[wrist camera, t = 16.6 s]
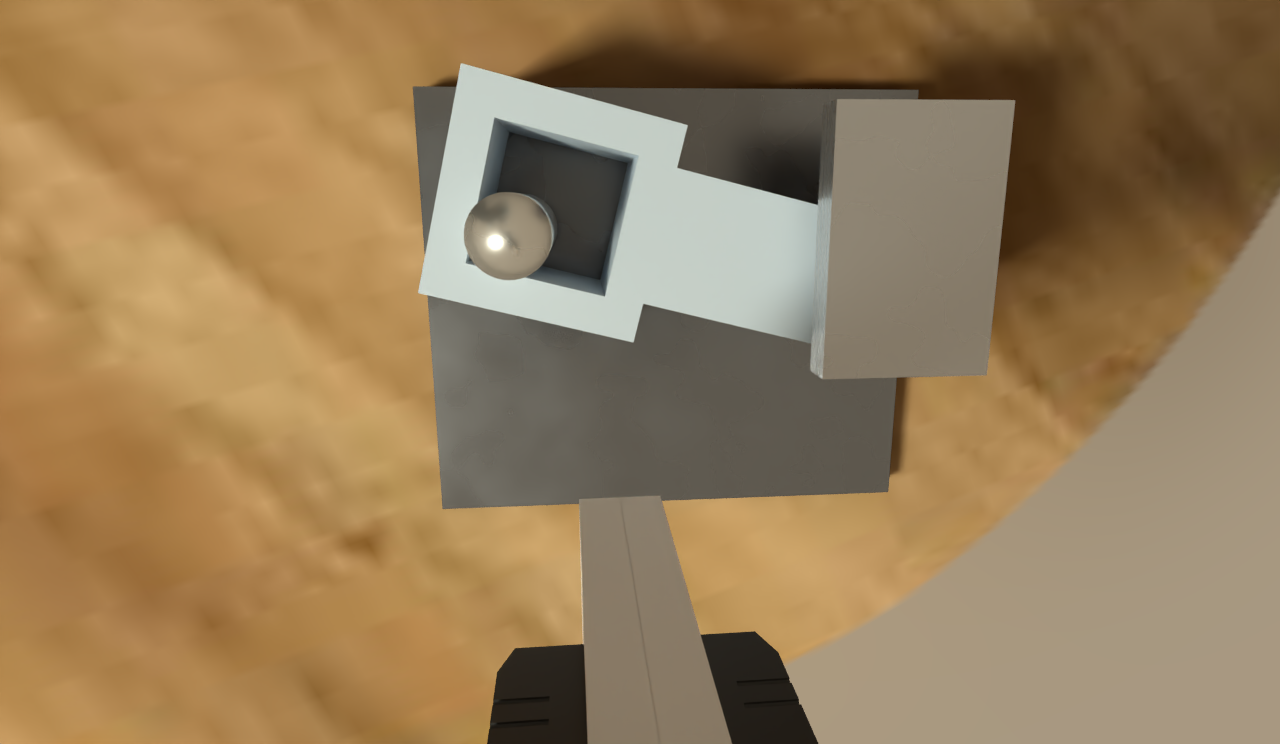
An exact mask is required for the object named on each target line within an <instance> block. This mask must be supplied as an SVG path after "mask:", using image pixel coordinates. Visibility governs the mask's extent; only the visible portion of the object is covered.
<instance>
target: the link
mask: <svg viewBox="0 0 1280 744" xmlns="http://www.w3.org/2000/svg"><path fill="white" fill-rule="evenodd" d="M687 126H688V125H685V124H682V123H678V122H674V121H671V120H667V119H663V118H660V117H656V116H652V115H649V114H645V113H641V112H638V111H634V110H630V109H627V108H623V107H619V106H616V105H612V104H609V103H605V102H601V101H598V100H594V99H590V98H587V97H583V96H579V95H576V94H572V93H568V92H565V91H561V90H557V89H554V88H550V87H546V86H543V85H539V84H535V83H532V82H528V81H524V80H521V79H517V78H513V77H510V76H506V75H502V74H499V73H495V72H491V71H488V70H484V69H480V68H477V67H473V66H469V65H466V64H462V63H461V66H460V71H459V76H458V82H457V87H456V92H455V98H454V103H453V109H452V114H451V119H450V125H449V130H448V135H447V141H446V146H445V152H444V157H443V162H442V168H441V173H440V178H439V184H438V189H437V194H436V200H435V205H434V211H433V216H432V221H431V227H430V232H429V237H428V243H427V248H426V253H425V259H424V264H423V270H422V275H421V280H420V286H419V291H418V293H420V294H425V295H429V296H433V297H438V298H442V299H446V300H451V301H455V302H459V303H464V304H468V305H472V306H477V307H481V308H486V309H490V310H494V311H499V312H503V313H507V314H512V315H516V316H520V317H525V318H529V319H533V320H538V321H542V322H546V323H551V324H555V325H559V326H564V327H568V328H572V329H577V330H581V331H586V332H590V333H594V334H599V335H603V336H607V337H612V338H616V339H620V340H625V341H629V342H634V338H635V334H636V330H637V326H638V322H639V318H640V314H641V310H642V306H643V304H647V305H651V306H655V307H659V308H663V309H668V310H672V311H676V312H680V313H684V314H689V315H693V316H697V317H701V318H705V319H710V320H714V321H718V322H722V323H727V324H731V325H735V326H739V327H743V328H748V329H752V330H756V331H760V332H764V333H769V334H773V335H777V336H781V337H785V338H790V339H794V340H798V341H802V342H806V343H811V338H812V318H813V297H814V276H815V256H816V235H817V214H818V205H815V204H812V203H808V202H804V201H800V200H796V199H793V198H789V197H785V196H781V195H778V194H774V193H770V192H766V191H762V190H759V189H755V188H751V187H747V186H744V185H740V184H736V183H732V182H728V181H725V180H721V179H717V178H713V177H710V176H706V175H702V174H698V173H694V172H691V171H687V170H683V169H679V168H677V166H678V162H679V158H680V154H681V150H682V146H683V142H684V138H685V134H686V130H687ZM509 132H512V133H515V134H519V135H523V136H527V137H531V138H534V139H538V140H542V141H546V142H550V143H553V144H557V145H561V146H565V147H569V148H572V149H576V150H580V151H584V152H588V153H591V154H595V155H599V156H603V157H607V158H610V159H614V160H618V161H622V162H626V163H628V165H627V169H626V173H625V178H624V182H623V186H622V190H621V195H620V199H619V203H618V207H617V212H616V216H615V220H614V224H613V228H612V233H611V237H610V241H609V245H608V250H607V254H606V258H605V262H604V266H603V271H602V275H601V279H600V280H598V279H594V278H590V277H585V276H581V275H577V274H573V273H569V272H565V271H560V270H556V269H552V268H548V267H544V266H541V267H540V268H539V269H537V270H536V271H535V272H534V273H532V274H531V275H529V276H527V277H524V278H521V279H517V280H501V279H497V278H494V277H491V276H489V275H487V274H486V273H484V272H483V271H481V270H480V269H479V268H478V267H477V266H476V265H475V264H474V263H473V261H472V260H471V258H470V257H469V255H468V253H467V250H466V247H465V243H464V226H465V222H466V219H467V217H468V215H469V213H470V211H471V210H472V209H473V207H474V206H475V205H476V204H477V203H478V202H479V201H481V200H482V199H484V198H485V197H487V196H489V195H492V194H495V193H497V189H498V184H499V179H500V174H501V169H502V164H503V159H504V154H505V149H506V144H507V139H508V134H509Z"/></svg>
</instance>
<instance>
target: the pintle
mask: <svg viewBox="0 0 1280 744" xmlns="http://www.w3.org/2000/svg"><path fill="white" fill-rule="evenodd" d="M556 236H557V221H556V217H555V215H554V213H553V211H552V209H551V208H550V206H549V205H548V204H547V203H546V202H545V201H543V200H542V199H540V198H538V197H536V196H534V195H530V194H523V193H512V192H500V193H495V194H492V195H489V196H487V197H485V198H484V199H482V200H481V201H479V202H478V203H477V204H476V205H475V206H474V207H473V209H472V210H471V211H470V213H469V215H468V217H467V219H466V222H465V226H464V243H465V247H466V250H467V253H468V255H469V257H470V258H471V260H472V261H473V263H474V264H475V265H476V266H477V267H478V268H479V269H480V270H481V271H483V272H484V273H486V274H487V275H489V276H491V277H494V278H497V279H501V280H517V279H521V278H524V277H527V276H529V275H531V274H532V273H534V272H535V271H536V270H537V269H539V268H540V267H541V265H542V264H543V263H544V261H545V260H546V258H547V256H548V254H549V252H550V250H551V248H552V246H553V244H554V242H555V240H556Z"/></svg>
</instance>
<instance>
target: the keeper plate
mask: <svg viewBox="0 0 1280 744" xmlns="http://www.w3.org/2000/svg"><path fill="white" fill-rule="evenodd" d="M550 88H554V89H557V90H561V91H565V92H568V93H572V94H576V95H579V96H583V97H587V98H590V99H594V100H598V101H601V102H605V103H609V104H612V105H616V106H619V107H623V108H627V109H630V110H634V111H638V112H641V113H645V114H649V115H652V116H656V117H660V118H663V119H667V120H671V121H674V122H678V123H682V124H685V125H688V126H687V130H686V134H685V138H684V142H683V146H682V150H681V154H680V158H679V162H678V166H677V168H679V169H683V170H687V171H691V172H694V173H698V174H702V175H706V176H710V177H713V178H717V179H721V180H725V181H728V182H732V183H736V184H740V185H744V186H747V187H751V188H755V189H759V190H762V191H766V192H770V193H774V194H778V195H781V196H785V197H789V198H793V199H796V200H800V201H804V202H808V203H812V204H815V205H818V214H817V235H816V256H815V276H814V297H813V318H812V338H811V343H806V342H802V341H798V340H794V339H790V338H785V337H781V336H777V335H773V334H769V333H764V332H760V331H756V330H752V329H748V328H743V327H739V326H735V325H731V324H727V323H722V322H718V321H714V320H710V319H705V318H701V317H697V316H693V315H689V314H684V313H680V312H676V311H672V310H668V309H663V308H659V307H655V306H651V305H647V304H643V306H642V310H641V314H640V318H639V322H638V326H637V330H636V334H635V338H634V342H629V341H625V340H620V339H616V338H612V337H607V336H603V335H599V334H594V333H590V332H586V331H581V330H577V329H572V328H568V327H564V326H559V325H555V324H551V323H546V322H542V321H538V320H533V319H529V318H525V317H520V316H516V315H512V314H507V313H503V312H499V311H494V310H490V309H486V308H481V307H477V306H472V305H468V304H464V303H459V302H455V301H451V300H446V299H442V298H438V297H433V296H429V295H428V308H429V322H430V336H431V350H432V364H433V378H434V392H435V407H436V421H437V435H438V449H439V463H440V477H441V492H442V506H443V509H454V508H480V507H506V506H533V505H559V504H579V499H591V498H615V497H638V496H660V497H661V500H662V501H664V500H691V499H717V498H743V497H769V496H796V495H822V494H848V493H875V492H888V486H889V473H890V460H891V447H892V434H893V421H894V407H895V394H896V381H897V377H937V376H976V375H987V368H988V358H989V349H990V339H991V329H992V320H993V310H994V301H995V291H996V281H997V272H998V262H999V253H1000V243H1001V233H1002V224H1003V214H1004V205H1005V195H1006V185H1007V176H1008V166H1009V157H1010V147H1011V137H1012V128H1013V118H1014V109H1015V100H918V91H919V90H864V89H712V88H559V87H550ZM455 92H456V87H413V95H414V109H415V123H416V138H417V152H418V166H419V180H420V194H421V208H422V223H423V237H424V251H425V253H426V248H427V243H428V237H429V232H430V227H431V221H432V216H433V211H434V205H435V200H436V194H437V189H438V184H439V178H440V173H441V168H442V162H443V157H444V152H445V146H446V141H447V135H448V130H449V125H450V119H451V114H452V109H453V103H454V98H455ZM627 165H628V163H626V162H622V161H618V160H614V159H610V158H607V157H603V156H599V155H595V154H591V153H588V152H584V151H580V150H576V149H572V148H569V147H565V146H561V145H557V144H553V143H550V142H546V141H542V140H538V139H534V138H531V137H527V136H523V135H519V134H515V133H512V132H509V134H508V139H507V144H506V149H505V154H504V159H503V164H502V169H501V174H500V179H499V184H498V189H497V193H500V192H512V193H523V194H530V195H534V196H536V197H538V198H540V199H542V200H543V201H545V202H546V203H547V204H548V205H549V206H550V208H551V209H552V211H553V213H554V215H555V217H556V221H557V236H556V240H555V242H554V244H553V246H552V248H551V250H550V252H549V254H548V256H547V258H546V260H545V261H544V263H543V264H542V265H541V266H544V267H548V268H552V269H556V270H560V271H565V272H569V273H573V274H577V275H581V276H585V277H590V278H594V279H598V280H600V279H601V275H602V271H603V266H604V262H605V258H606V254H607V250H608V245H609V241H610V237H611V233H612V228H613V224H614V220H615V216H616V212H617V207H618V203H619V199H620V195H621V190H622V186H623V182H624V178H625V173H626V169H627Z"/></svg>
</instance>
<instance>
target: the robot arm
mask: <svg viewBox="0 0 1280 744" xmlns="http://www.w3.org/2000/svg"><path fill="white" fill-rule="evenodd" d="M579 513H580V552H581V591H582V629H583V644H580V645H563V646H547V647H530V648H515V649H514V651H513V652H512V653H511V655H510V656H509V657H508V659H507V660H506V661H505V663H504V664H503V665H502V667H501V668H500V669H499V671H498V672H497V678H496V685H495V692H494V699H493V706H492V714H491V721H490V729H489V735H488V742H487V744H818V742H817V740H816V737H815V735H814V733H813V730H812V728H811V726H810V724H809V721H808V719H807V717H806V715H805V712H804V710H803V708H802V706H801V705H799V699H798V696H797V694H796V692H795V690H794V687H793V685H792V683H790V681H789V676H788V674H787V672H786V669H785V667H784V665H783V662H782V660H781V658H780V656H779V653H778V652H777V651H776V650H775V649H774V648H773V647H771V646H770V645H769V644H768V643H767V642H766V641H765V640H764V639H763V638H761V637H760V636H759V635H758V634H757V633H756V632H739V633H722V634H706V635H700V631H699V628H698V624H697V621H696V618H695V614H694V611H693V607H692V604H691V600H690V597H689V593H688V590H687V587H686V583H685V580H684V576H683V573H682V569H681V566H680V562H679V559H678V555H677V552H676V549H675V545H674V542H673V538H672V535H671V531H670V528H669V524H668V521H667V517H666V514H665V511H664V507H663V504H662V500H661V497H660V496H638V497H615V498H591V499H579Z"/></svg>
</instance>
